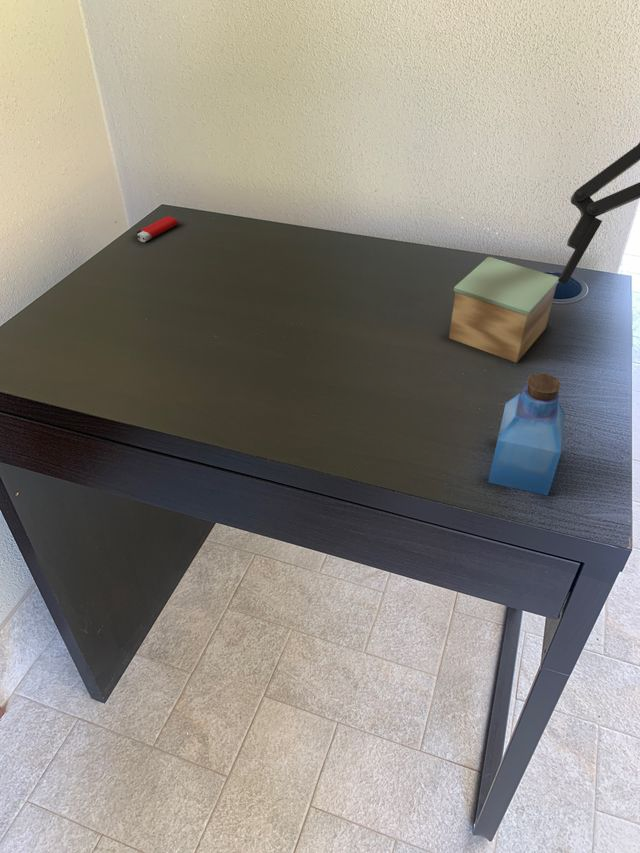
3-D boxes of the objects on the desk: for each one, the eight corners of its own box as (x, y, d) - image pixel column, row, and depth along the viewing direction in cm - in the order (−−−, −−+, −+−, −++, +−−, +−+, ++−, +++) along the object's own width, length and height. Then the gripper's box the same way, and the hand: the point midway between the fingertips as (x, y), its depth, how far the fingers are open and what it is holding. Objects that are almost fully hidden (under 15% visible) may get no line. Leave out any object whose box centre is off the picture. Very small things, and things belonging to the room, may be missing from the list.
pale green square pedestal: (547, 328, 96) (560, 277, 91) (517, 364, 90) (529, 311, 84) (479, 306, 101) (488, 256, 95) (446, 338, 94) (453, 287, 89)
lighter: (177, 219, 120) (144, 236, 116) (178, 226, 121) (145, 243, 116) (165, 215, 122) (132, 232, 117) (166, 222, 122) (134, 239, 118)
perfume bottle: (547, 495, 72) (574, 408, 64) (488, 482, 74) (508, 395, 66) (552, 457, 76) (578, 370, 69) (496, 445, 78) (515, 359, 70)
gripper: (854, 173, 66) (728, 367, 71) (615, 67, 69) (510, 260, 74) (901, 153, 59) (757, 371, 63) (632, 36, 62) (514, 252, 67)
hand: (624, 311), depth 69 cm, fingers open, 13 cm apart
